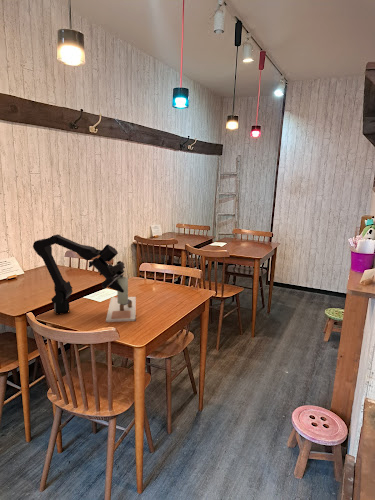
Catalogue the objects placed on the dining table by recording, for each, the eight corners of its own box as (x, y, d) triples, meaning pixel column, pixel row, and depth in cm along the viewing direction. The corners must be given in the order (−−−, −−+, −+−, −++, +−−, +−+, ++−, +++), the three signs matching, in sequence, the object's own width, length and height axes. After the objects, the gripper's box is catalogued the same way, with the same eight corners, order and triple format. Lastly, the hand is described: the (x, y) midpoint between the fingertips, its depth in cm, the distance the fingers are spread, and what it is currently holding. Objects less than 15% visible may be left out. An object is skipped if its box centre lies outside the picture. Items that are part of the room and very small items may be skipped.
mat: (130, 318, 167) (130, 317, 167) (111, 318, 165) (111, 317, 165) (130, 311, 175) (130, 310, 175) (112, 312, 174) (112, 311, 174)
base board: (135, 320, 166) (135, 318, 166) (105, 322, 164) (105, 320, 164) (135, 298, 199) (135, 296, 199) (111, 299, 197) (111, 297, 197)
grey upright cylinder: (116, 303, 169) (116, 279, 166) (118, 300, 174) (118, 276, 171) (126, 304, 168) (126, 279, 166) (129, 300, 173) (128, 277, 171)
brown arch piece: (120, 311, 175) (120, 304, 175) (112, 305, 184) (112, 298, 183) (134, 308, 180) (134, 301, 179) (126, 302, 189) (125, 296, 188)
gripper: (107, 261, 158) (130, 285, 159) (120, 253, 176) (141, 275, 177) (91, 276, 160) (114, 300, 161) (106, 267, 179) (126, 288, 179)
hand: (125, 290), depth 170 cm, fingers closed on grey upright cylinder, 5 cm apart
